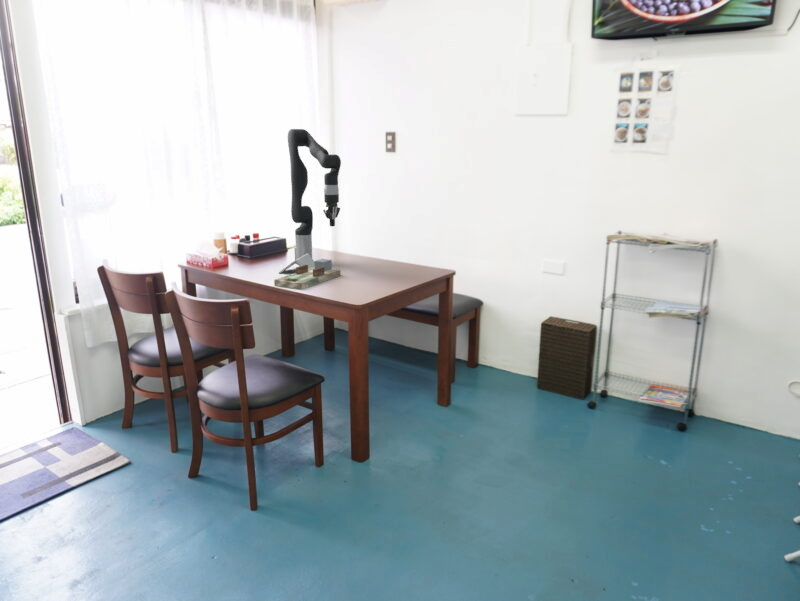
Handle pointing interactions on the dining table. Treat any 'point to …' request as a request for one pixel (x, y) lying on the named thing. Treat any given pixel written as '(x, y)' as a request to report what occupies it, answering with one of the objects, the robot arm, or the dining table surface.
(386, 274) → the dining table surface
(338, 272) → the tunnel deck
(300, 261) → the bracket
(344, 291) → the dining table surface
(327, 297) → the dining table surface
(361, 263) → the dining table surface
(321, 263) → the grey block
